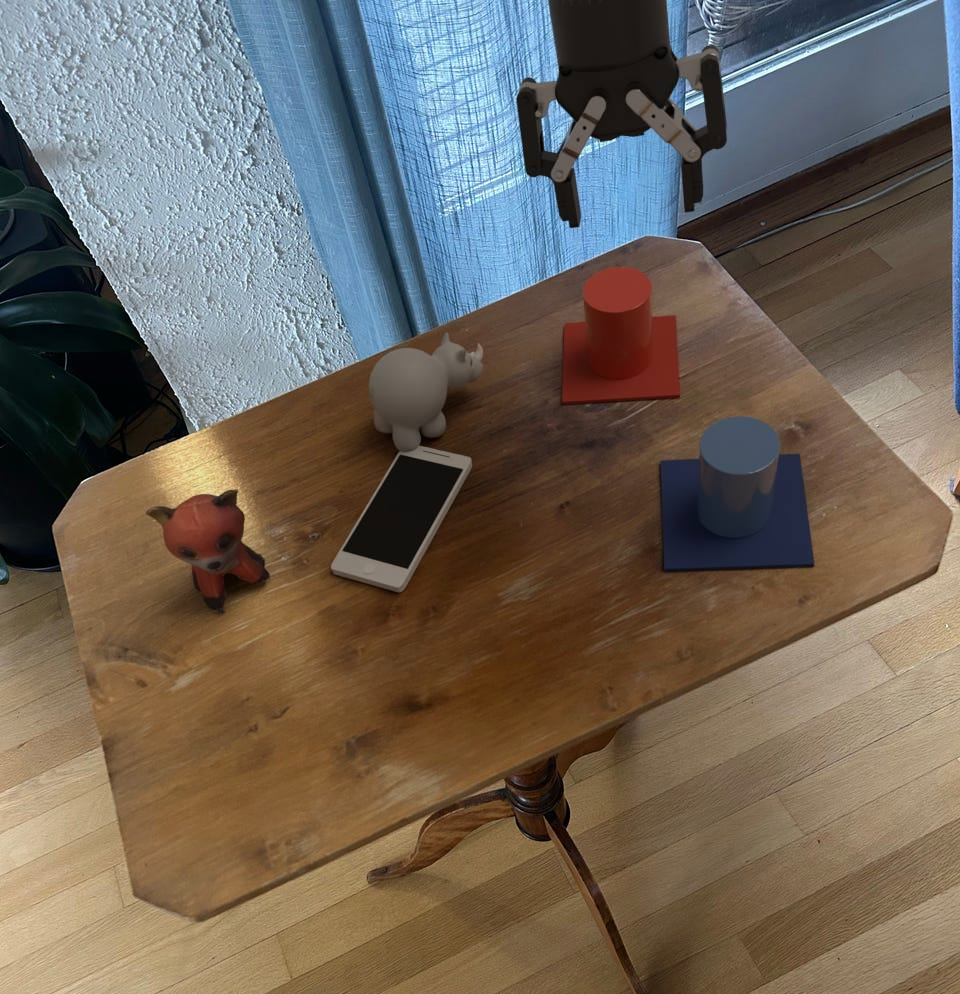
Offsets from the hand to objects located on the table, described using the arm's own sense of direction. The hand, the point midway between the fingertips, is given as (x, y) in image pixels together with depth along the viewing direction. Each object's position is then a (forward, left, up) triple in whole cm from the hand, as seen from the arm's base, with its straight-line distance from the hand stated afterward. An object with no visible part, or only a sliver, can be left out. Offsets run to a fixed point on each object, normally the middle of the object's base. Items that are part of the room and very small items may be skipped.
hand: (632, 215), depth 77 cm
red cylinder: (+2, -8, -21) cm, 23 cm away
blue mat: (-8, +11, -22) cm, 26 cm away
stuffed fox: (+36, +15, -22) cm, 45 cm away
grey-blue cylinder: (-8, +11, -21) cm, 25 cm away
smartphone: (+21, +10, -22) cm, 32 cm away
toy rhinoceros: (+19, -2, -22) cm, 29 cm away
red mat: (+2, -8, -22) cm, 23 cm away
